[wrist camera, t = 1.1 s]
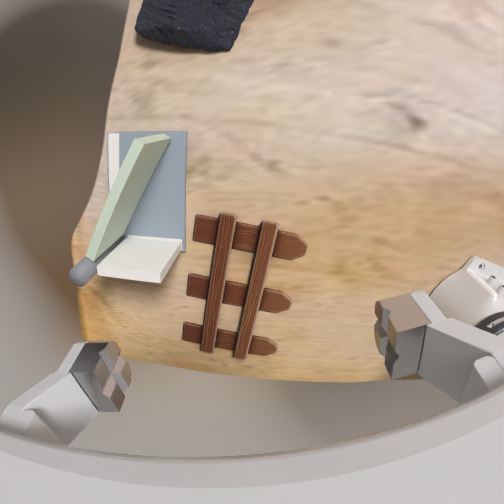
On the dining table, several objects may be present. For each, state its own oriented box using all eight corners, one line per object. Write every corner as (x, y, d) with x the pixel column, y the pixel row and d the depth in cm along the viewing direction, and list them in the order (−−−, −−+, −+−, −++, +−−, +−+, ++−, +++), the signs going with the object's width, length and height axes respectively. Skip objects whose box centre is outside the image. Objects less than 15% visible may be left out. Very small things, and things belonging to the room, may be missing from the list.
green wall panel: (124, 233, 42) (93, 261, 33) (117, 229, 41) (85, 256, 33) (171, 137, 36) (144, 144, 28) (163, 133, 36) (134, 138, 28)
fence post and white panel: (182, 235, 42) (153, 277, 31) (182, 252, 43) (155, 297, 32) (111, 229, 42) (67, 266, 31) (112, 245, 43) (71, 285, 32)
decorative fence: (183, 340, 50) (272, 358, 51) (180, 347, 49) (272, 365, 49) (198, 205, 41) (311, 227, 41) (195, 209, 39) (312, 232, 40)
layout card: (187, 131, 37) (186, 131, 36) (185, 250, 43) (184, 252, 43) (108, 132, 37) (107, 132, 36) (114, 244, 43) (112, 245, 43)
